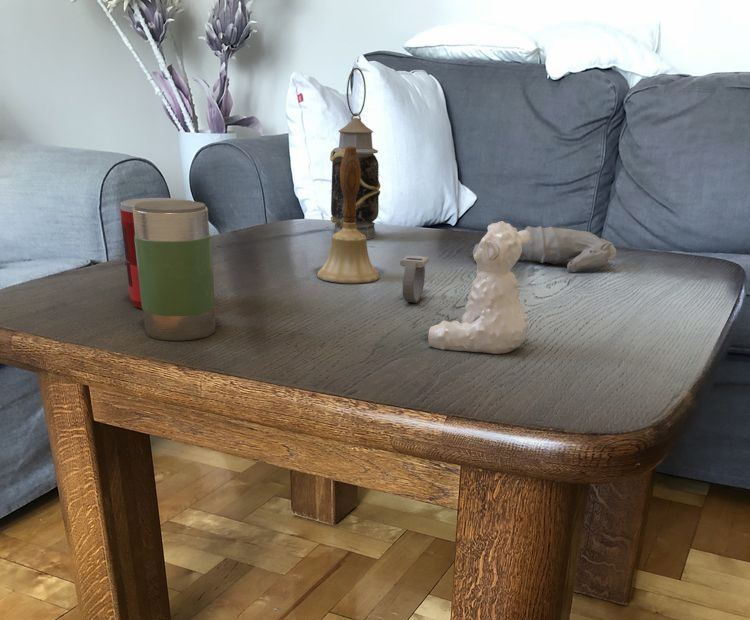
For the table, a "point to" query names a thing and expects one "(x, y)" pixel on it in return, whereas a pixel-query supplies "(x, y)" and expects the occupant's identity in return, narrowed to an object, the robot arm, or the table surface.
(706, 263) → the table surface
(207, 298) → the tin can
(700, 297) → the table surface
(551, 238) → the seahorse
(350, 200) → the hand bell
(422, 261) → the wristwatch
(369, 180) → the lantern
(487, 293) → the seated beast figurine
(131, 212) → the canned food
